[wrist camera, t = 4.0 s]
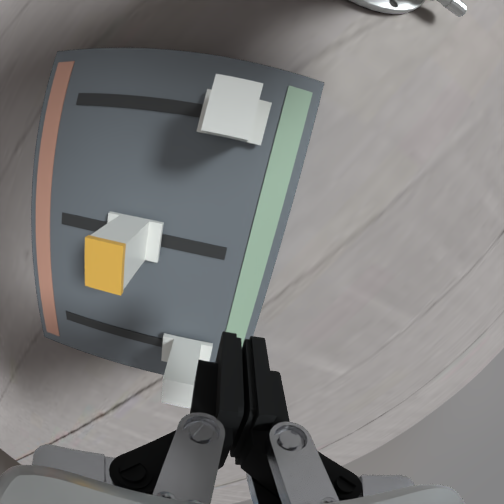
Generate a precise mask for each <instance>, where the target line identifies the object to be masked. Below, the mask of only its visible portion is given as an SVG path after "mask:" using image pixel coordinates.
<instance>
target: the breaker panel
mask: <svg viewBox="0 0 504 504" xmlns="http://www.w3.org/2000/svg"><path fill="white" fill-rule="evenodd" d="M216 74H221V75H226V76H232V77H237V78H241V79H246V80H251V81H255V82H259V83H263V88H262V91H261V95H260V99H259V100H263V101H267V102H271V103H272V105H271V108H270V112H269V116H268V120H267V124H266V127H265V131H264V135H263V139H262V143H261V145H257V144H252V143H248V142H244V141H239V140H235V139H230V138H226V137H221V136H216V135H211V134H206V133H200V132H196V131H197V127H198V123H199V119H200V115H201V111H202V107H203V103H204V99H205V96H206V92H207V89H211V90H212V86H213V82H214V79H215V75H216ZM323 86H324V82H321V81H318V80H315V79H312V78H309V77H306V76H302V75H299V74H296V73H292V72H289V71H285V70H281V69H278V68H274V67H270V66H266V65H262V64H258V63H253V62H249V61H244V60H239V59H234V58H228V57H223V56H217V55H210V54H203V53H196V52H188V51H178V50H167V49H151V48H93V49H78V50H67V51H58V52H57V54H56V58H55V61H54V64H53V67H52V71H51V74H50V78H49V82H48V86H47V90H46V94H45V98H44V102H43V107H42V112H41V117H40V123H39V129H38V135H37V142H36V150H35V158H34V169H33V182H32V206H31V227H32V252H33V265H34V275H35V284H36V292H37V299H38V305H39V311H40V317H41V322H42V328H43V332H44V337H46V338H49V339H51V340H54V341H56V342H59V343H61V344H64V345H67V346H69V347H72V348H75V349H77V350H80V351H83V352H86V353H89V354H92V355H95V356H98V357H101V358H104V359H107V360H111V361H114V362H117V363H121V364H124V365H127V366H131V367H135V368H138V369H142V370H146V371H150V372H154V373H158V374H162V375H164V373H165V369H166V366H167V362H164V361H161V357H162V344H163V335H164V333H166V334H170V335H175V336H179V337H184V338H188V339H193V340H198V341H203V342H208V343H213V348H212V352H211V357H210V361H209V362H215V361H216V357H217V352H218V348H219V344H220V340H221V335H222V332H223V331H225V332H230V333H236V334H237V337H238V338H241V342H242V346H243V343H244V340H245V339H249V338H250V336H253V334H254V331H255V328H256V324H257V321H258V318H259V315H260V311H261V308H262V305H263V302H264V298H265V295H266V292H267V289H268V285H269V282H270V279H271V275H272V272H273V269H274V265H275V262H276V259H277V255H278V252H279V248H280V245H281V241H282V238H283V235H284V231H285V228H286V224H287V221H288V217H289V214H290V210H291V207H292V203H293V199H294V196H295V192H296V189H297V185H298V181H299V178H300V174H301V170H302V167H303V163H304V159H305V156H306V152H307V148H308V144H309V141H310V137H311V133H312V129H313V125H314V122H315V118H316V114H317V110H318V106H319V102H320V98H321V94H322V90H323ZM110 211H111V212H116V213H121V214H126V215H130V216H135V217H140V218H145V219H150V220H155V221H159V222H164V225H163V232H162V239H161V247H160V254H159V261H158V263H156V262H151V261H147V260H145V261H144V262H143V264H142V265H141V266H140V268H139V269H138V270H137V272H136V273H135V274H134V276H133V277H132V279H131V280H130V281H129V283H128V284H127V286H126V287H125V288H124V290H123V293H122V295H121V296H120V295H116V294H113V293H109V292H105V291H102V290H98V289H95V288H91V287H88V286H85V237H86V236H88V235H91V234H93V233H94V232H96V231H97V230H98V229H100V228H101V227H103V226H104V225H106V224H107V222H108V213H109V212H110Z"/></svg>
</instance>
